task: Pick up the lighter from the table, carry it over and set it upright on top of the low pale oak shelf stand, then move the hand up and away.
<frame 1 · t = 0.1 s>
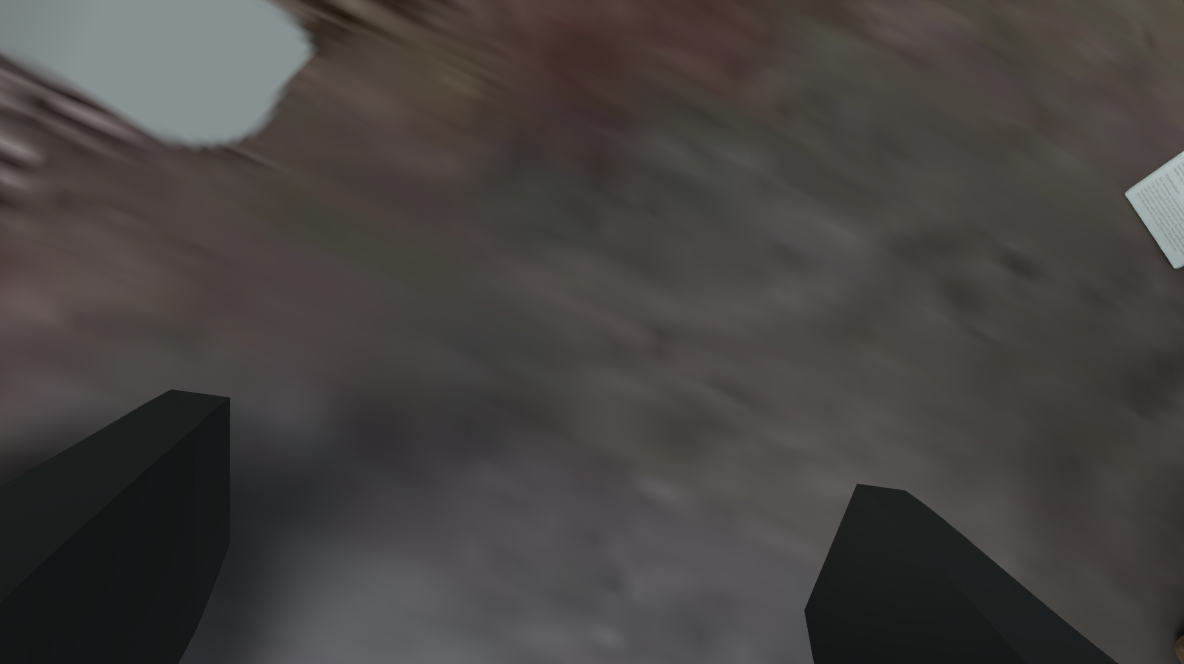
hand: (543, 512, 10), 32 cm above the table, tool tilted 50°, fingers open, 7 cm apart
skincare box: (1167, 223, 55), on the table
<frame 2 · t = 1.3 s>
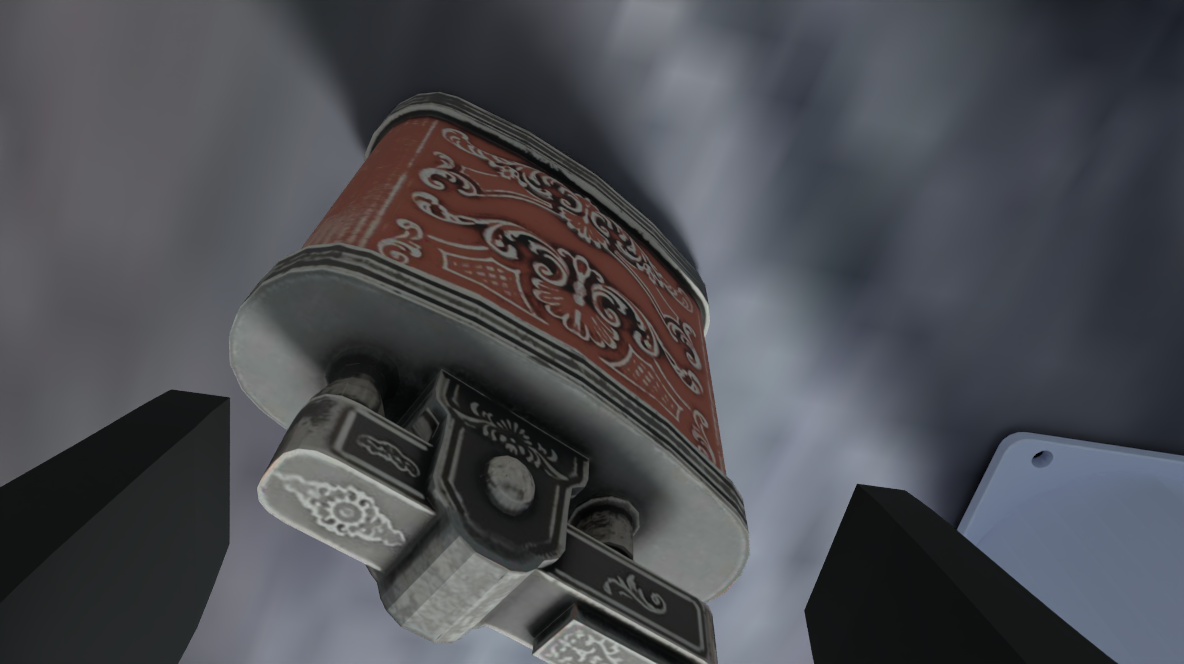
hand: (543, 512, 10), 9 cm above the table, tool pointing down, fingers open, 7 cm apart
lighter: (548, 229, 18), on the table
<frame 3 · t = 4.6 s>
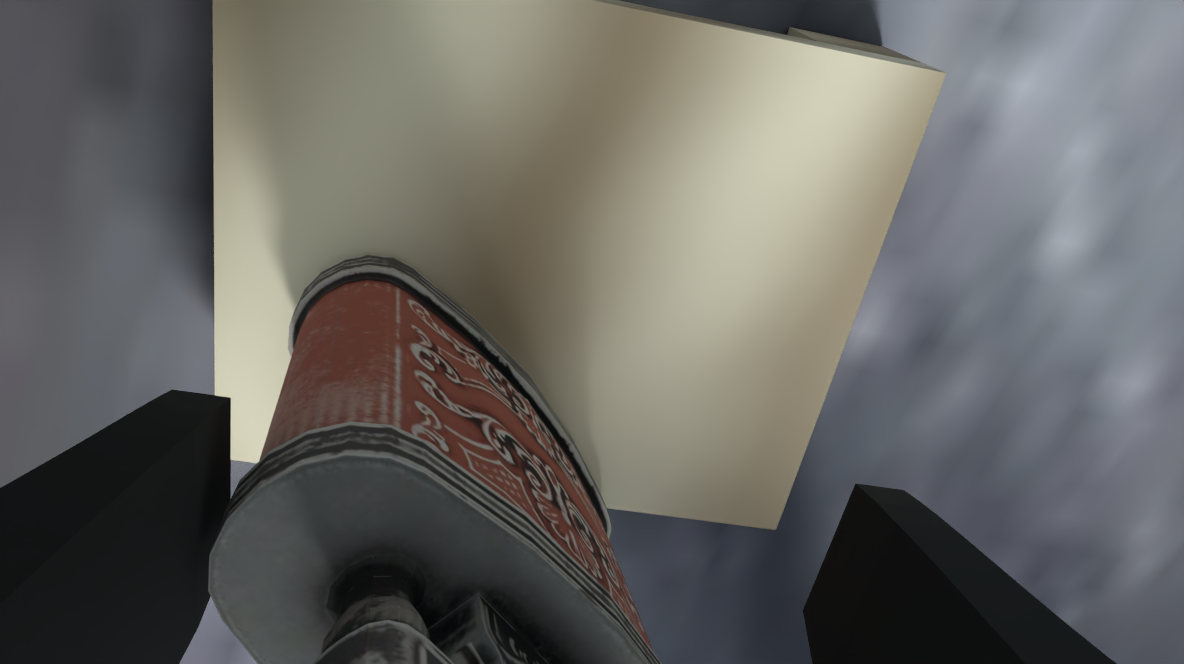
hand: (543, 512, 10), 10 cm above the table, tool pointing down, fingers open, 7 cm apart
lighter: (460, 420, 17), point 3 cm above the table, touching gripper, shelf stand
shelf stand: (547, 228, 18), on the table
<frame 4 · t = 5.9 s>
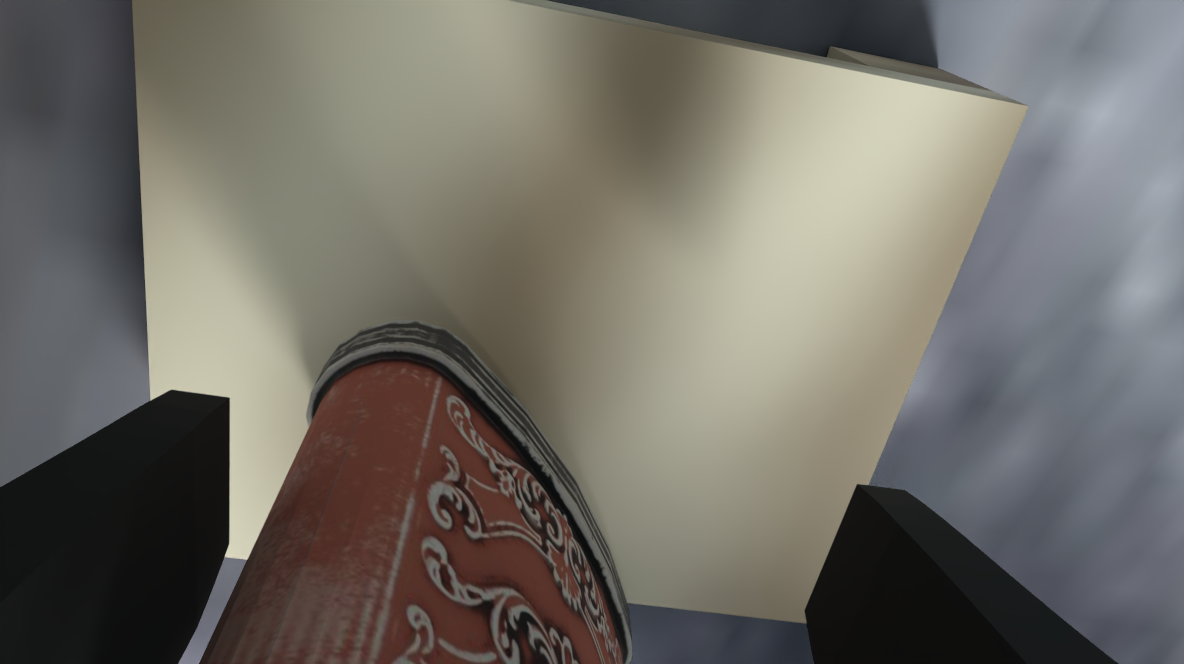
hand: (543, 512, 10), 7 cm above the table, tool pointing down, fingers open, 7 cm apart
lighter: (488, 506, 15), point 3 cm above the table, touching shelf stand
shelf stand: (546, 276, 16), on the table
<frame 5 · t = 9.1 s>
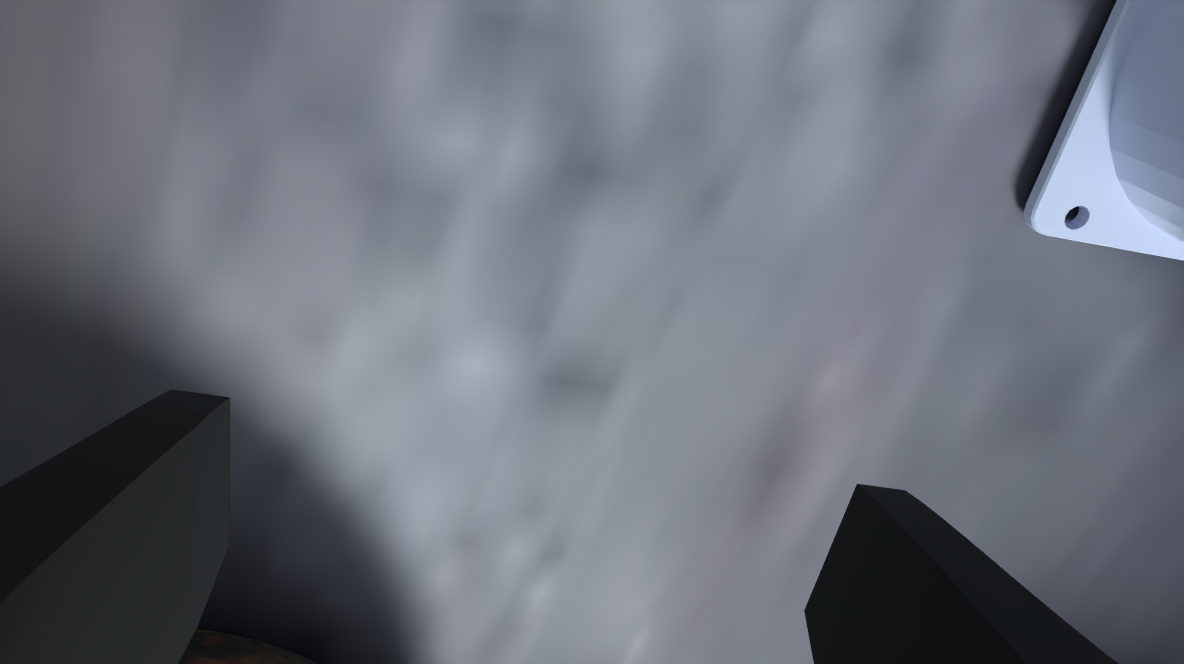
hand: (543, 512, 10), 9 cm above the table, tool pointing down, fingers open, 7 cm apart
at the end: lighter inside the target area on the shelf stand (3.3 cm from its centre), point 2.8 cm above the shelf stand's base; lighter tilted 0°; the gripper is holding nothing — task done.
